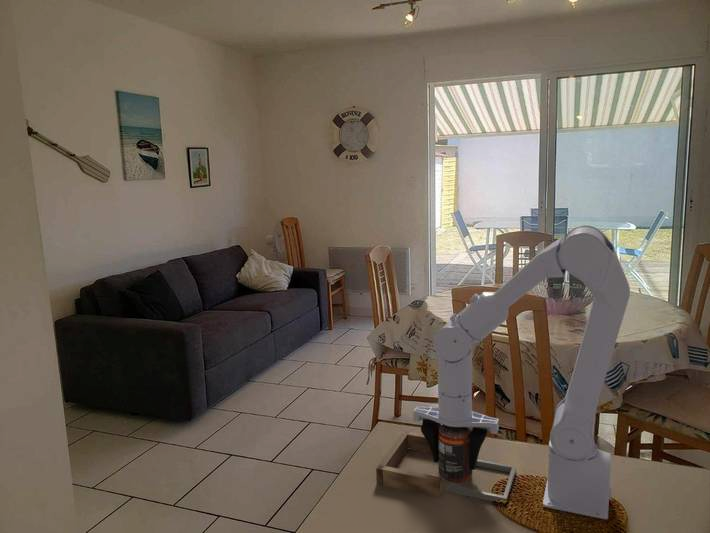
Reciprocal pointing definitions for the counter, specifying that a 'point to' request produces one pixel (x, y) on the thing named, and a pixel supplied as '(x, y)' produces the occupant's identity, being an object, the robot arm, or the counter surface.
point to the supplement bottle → (454, 453)
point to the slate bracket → (484, 494)
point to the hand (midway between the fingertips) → (455, 463)
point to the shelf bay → (405, 478)
